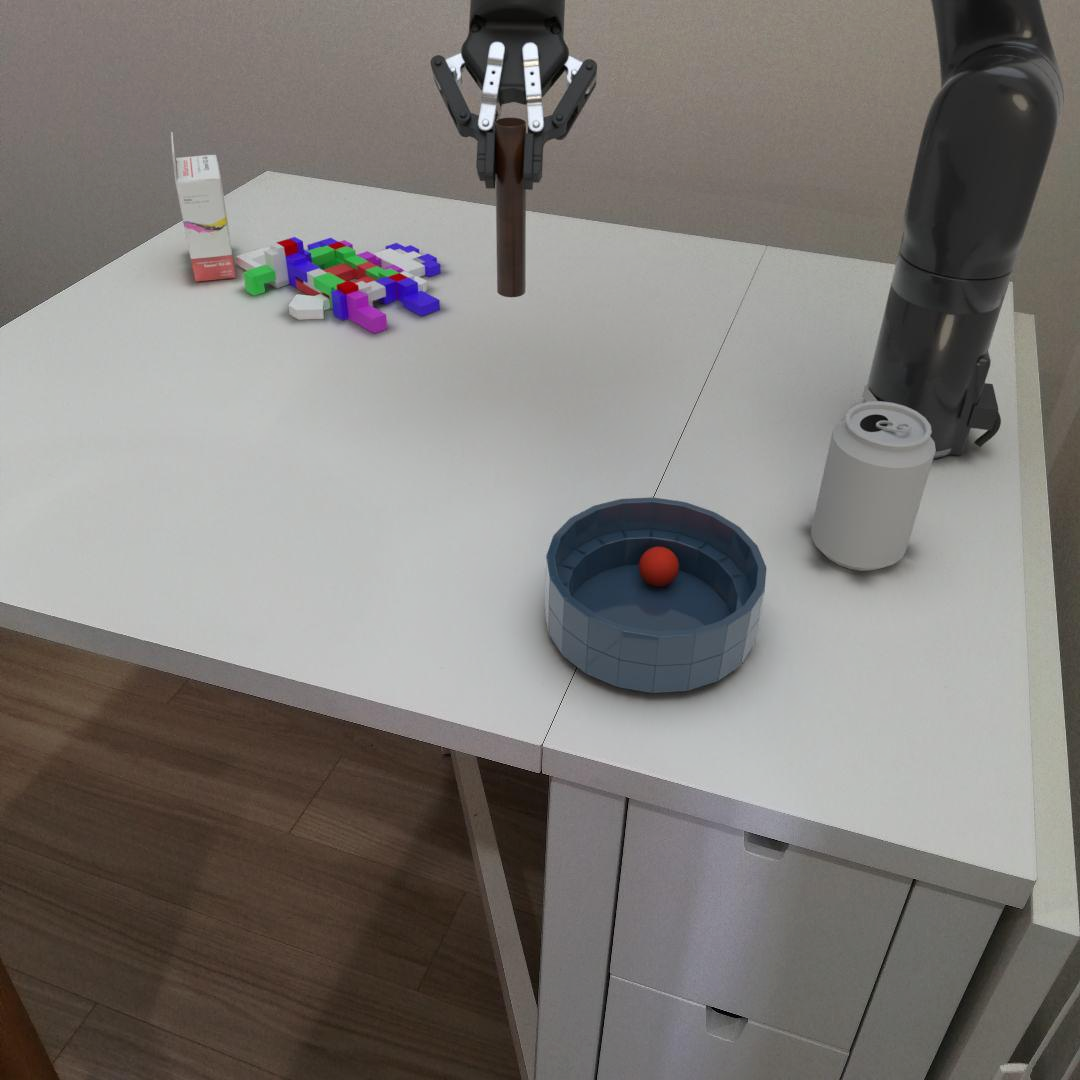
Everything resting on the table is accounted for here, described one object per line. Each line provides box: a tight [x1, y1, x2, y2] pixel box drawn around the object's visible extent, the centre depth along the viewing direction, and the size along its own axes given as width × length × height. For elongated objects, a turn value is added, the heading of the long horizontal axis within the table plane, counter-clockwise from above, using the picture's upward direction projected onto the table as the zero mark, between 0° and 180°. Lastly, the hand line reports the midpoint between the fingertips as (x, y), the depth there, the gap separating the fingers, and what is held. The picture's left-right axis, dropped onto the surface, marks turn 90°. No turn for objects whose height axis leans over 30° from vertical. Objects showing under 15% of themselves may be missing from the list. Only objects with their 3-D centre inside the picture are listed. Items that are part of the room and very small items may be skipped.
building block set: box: [235, 236, 442, 334], centre depth 121 cm, size 25×20×4 cm
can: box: [810, 401, 936, 572], centre depth 81 cm, size 8×8×12 cm
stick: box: [495, 117, 527, 298], centre depth 86 cm, size 2×2×14 cm
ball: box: [639, 547, 679, 587], centre depth 79 cm, size 3×3×3 cm
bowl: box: [544, 496, 767, 694], centre depth 76 cm, size 15×15×6 cm
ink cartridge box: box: [170, 131, 237, 282], centre depth 121 cm, size 9×5×15 cm, turn 17°
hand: (509, 183), depth 82 cm, fingers closed on stick, 2 cm apart
